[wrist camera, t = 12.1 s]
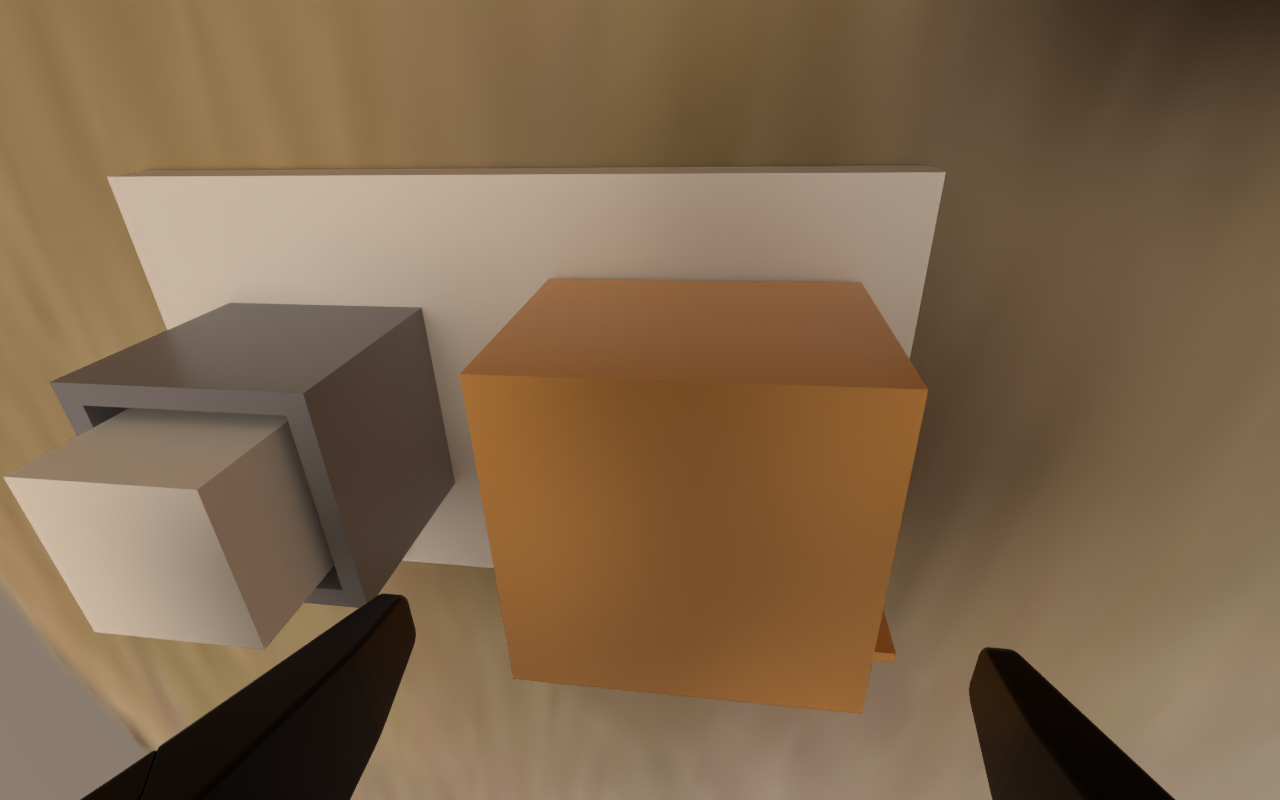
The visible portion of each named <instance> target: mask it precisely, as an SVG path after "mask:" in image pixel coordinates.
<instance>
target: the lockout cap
mask: <svg viewBox="0 0 1280 800" xmlns="http://www.w3.org/2000/svg"><path fill="white" fill-rule="evenodd" d="M460 380H461V385H462V391H463V397H464V402H465V408H466V414H467V419H468V425H469V431H470V436H471V442H472V447H473V453H474V459H475V464H476V470H477V476H478V481H479V487H480V493H481V498H482V504H483V510H484V515H485V521H486V527H487V532H488V538H489V544H490V549H491V555H492V560H493V566H494V572H495V577H496V583H497V589H498V594H499V600H500V606H501V611H502V617H503V623H504V628H505V634H506V640H507V645H508V651H509V657H510V662H511V668H512V673H513V679H520V680H530V681H540V682H550V683H560V684H570V685H580V686H589V687H599V688H609V689H619V690H629V691H639V692H649V693H659V694H669V695H679V696H689V697H698V698H708V699H718V700H728V701H738V702H748V703H758V704H768V705H778V706H788V707H797V708H807V709H817V710H827V711H837V712H847V713H857V714H862V710H863V705H864V700H865V695H866V690H867V686H868V681H869V676H870V671H871V666H872V661H873V656H874V652H875V647H876V642H877V637H878V632H879V627H880V622H881V618H882V613H883V608H884V603H885V598H886V593H887V588H888V584H889V579H890V574H891V569H892V564H893V559H894V554H895V550H896V545H897V540H898V535H899V530H900V525H901V520H902V516H903V511H904V506H905V501H906V496H907V491H908V486H909V481H910V477H911V472H912V467H913V462H914V457H915V452H916V447H917V443H918V438H919V433H920V428H921V423H922V418H923V413H924V409H925V404H926V399H927V394H928V388H927V387H926V385H925V383H924V382H923V380H922V379H921V377H920V375H919V374H918V372H917V371H916V369H915V367H914V366H913V364H912V363H911V361H910V359H909V358H908V356H907V354H906V353H905V351H904V350H903V348H902V346H901V345H900V343H899V342H898V340H897V338H896V337H895V335H894V334H893V332H892V330H891V329H890V327H889V326H888V324H887V322H886V321H885V319H884V318H883V316H882V314H881V313H880V311H879V310H878V308H877V306H876V305H875V303H874V302H873V300H872V298H871V297H870V295H869V294H868V292H867V290H866V289H865V287H864V286H863V284H862V283H854V282H768V281H681V280H594V279H548V280H547V281H546V282H545V283H544V284H543V285H542V287H541V288H540V289H539V290H538V291H537V292H536V293H535V294H534V295H533V296H532V297H531V298H530V299H529V300H528V301H527V303H526V304H525V305H524V306H523V307H522V308H521V309H520V310H519V311H518V312H517V313H516V314H515V315H514V316H513V317H512V319H511V320H510V321H509V322H508V323H507V324H506V325H505V326H504V327H503V328H502V329H501V330H500V331H499V332H498V333H497V335H496V336H495V337H494V338H493V339H492V340H491V341H490V342H489V343H488V344H487V345H486V346H485V347H484V348H483V349H482V351H481V352H480V353H479V354H478V355H477V356H476V357H475V358H474V359H473V360H472V361H471V362H470V363H469V364H468V365H467V367H466V368H465V369H464V370H463V371H462V372H461V373H460Z"/></svg>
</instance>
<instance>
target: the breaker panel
mask: <svg viewBox="0 0 1280 800" xmlns="http://www.w3.org/2000/svg"><path fill="white" fill-rule="evenodd" d="M945 174H946V172H944V171H942V170H940V169H937V168H935V167H933V166H930V165H897V166H748V167H598V168H449V169H300V170H150V171H141V172H134V173H128V174H121V175H115V176H108V177H107V178H108V181H109V183H110V186H111V188H112V191H113V193H114V196H115V198H116V201H117V203H118V206H119V208H120V211H121V214H122V216H123V219H124V221H125V224H126V226H127V229H128V231H129V234H130V236H131V239H132V241H133V244H134V247H135V249H136V252H137V254H138V257H139V259H140V262H141V264H142V267H143V269H144V272H145V274H146V277H147V280H148V282H149V285H150V287H151V290H152V292H153V295H154V297H155V300H156V302H157V305H158V307H159V310H160V312H161V315H162V318H163V320H164V323H165V325H166V328H167V331H165V332H162V333H160V334H158V335H156V336H153V337H151V338H149V339H147V340H144V341H142V342H140V343H138V344H135V345H133V346H131V347H128V348H126V349H124V350H122V351H119V352H117V353H115V354H113V355H110V356H108V357H106V358H104V359H101V360H99V361H97V362H94V363H92V364H90V365H88V366H85V367H83V368H81V369H79V370H76V371H74V372H72V373H70V374H67V375H65V376H63V377H60V378H58V379H56V380H54V381H51V382H50V383H51V385H52V387H53V389H54V391H55V393H56V395H57V397H58V399H59V401H60V403H61V405H62V407H63V409H64V411H65V413H66V415H67V417H68V419H69V421H70V423H71V425H72V427H73V429H74V431H75V433H76V435H77V436H79V435H81V434H83V433H84V432H86V431H88V430H90V429H92V428H94V427H95V426H97V425H99V424H101V423H103V422H105V421H107V420H108V419H110V418H112V417H114V416H116V415H118V414H119V413H121V412H123V411H125V410H127V409H129V408H144V409H164V410H184V411H204V412H224V413H244V414H264V415H284V416H287V419H288V423H289V426H290V429H291V432H292V435H293V438H294V441H295V444H296V447H297V450H298V454H299V457H300V460H301V463H302V466H303V469H304V472H305V475H306V478H307V481H308V485H309V488H310V491H311V494H312V497H313V500H314V503H315V506H316V509H317V512H318V516H319V519H320V522H321V525H322V528H323V531H324V534H325V537H326V540H327V543H328V547H329V550H330V553H331V556H332V559H333V562H334V566H333V568H332V569H331V570H330V571H329V572H328V574H327V575H326V576H325V577H324V578H323V580H322V581H321V582H320V583H319V585H318V586H317V587H316V588H315V589H314V591H313V592H312V593H311V594H310V595H309V597H308V598H307V599H306V600H305V601H304V603H314V604H325V605H335V606H346V607H357V608H360V607H362V606H363V605H364V604H366V603H367V602H369V601H370V600H372V599H373V598H375V597H376V596H377V595H378V594H379V592H380V591H381V589H382V588H383V586H384V585H385V584H386V582H387V581H388V579H389V578H390V576H391V575H392V574H393V572H394V571H395V569H396V568H397V566H398V565H399V563H400V562H401V561H413V562H425V563H437V564H450V565H462V566H474V567H487V568H494V566H493V560H492V555H491V549H490V544H489V538H488V532H487V527H486V521H485V515H484V510H483V504H482V498H481V493H480V487H479V481H478V476H477V470H476V464H475V459H474V453H473V447H472V442H471V436H470V431H469V425H468V419H467V414H466V408H465V402H464V397H463V391H462V385H461V380H460V373H461V372H462V371H463V370H464V369H465V368H466V367H467V365H468V364H469V363H470V362H471V361H472V360H473V359H474V358H475V357H476V356H477V355H478V354H479V353H480V352H481V351H482V349H483V348H484V347H485V346H486V345H487V344H488V343H489V342H490V341H491V340H492V339H493V338H494V337H495V336H496V335H497V333H498V332H499V331H500V330H501V329H502V328H503V327H504V326H505V325H506V324H507V323H508V322H509V321H510V320H511V319H512V317H513V316H514V315H515V314H516V313H517V312H518V311H519V310H520V309H521V308H522V307H523V306H524V305H525V304H526V303H527V301H528V300H529V299H530V298H531V297H532V296H533V295H534V294H535V293H536V292H537V291H538V290H539V289H540V288H541V287H542V285H543V284H544V283H545V282H546V281H547V280H548V279H594V280H681V281H768V282H854V283H862V284H863V286H864V287H865V289H866V290H867V292H868V294H869V295H870V297H871V298H872V300H873V302H874V303H875V305H876V306H877V308H878V310H879V311H880V313H881V314H882V316H883V318H884V319H885V321H886V322H887V324H888V326H889V327H890V329H891V330H892V332H893V334H894V335H895V337H896V338H897V340H898V342H899V343H900V345H901V346H902V348H903V350H904V351H905V353H906V354H907V356H908V358H909V359H910V355H911V350H912V345H913V340H914V335H915V329H916V324H917V319H918V314H919V309H920V303H921V298H922V293H923V288H924V283H925V277H926V272H927V267H928V262H929V257H930V252H931V246H932V241H933V236H934V231H935V226H936V220H937V215H938V210H939V205H940V200H941V194H942V189H943V184H944V179H945ZM895 655H896V653H895V649H894V646H893V642H892V638H891V635H890V631H889V628H888V624H887V621H886V617H885V613H884V610H883V613H882V618H881V622H880V627H879V632H878V637H877V642H876V647H875V652H874V656H873V661H882V662H893V663H894V660H895Z"/></svg>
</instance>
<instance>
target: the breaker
mask: <svg viewBox="0 0 1280 800" xmlns="http://www.w3.org/2000/svg"><path fill="white" fill-rule="evenodd" d="M3 478H4V479H5V481H6V483H7V484H8V486H9V488H10V489H11V491H12V493H13V495H14V496H15V498H16V500H17V501H18V503H19V505H20V506H21V508H22V510H23V511H24V513H25V515H26V517H27V518H28V520H29V522H30V523H31V525H32V527H33V528H34V530H35V532H36V533H37V535H38V537H39V538H40V540H41V542H42V544H43V545H44V547H45V549H46V550H47V552H48V554H49V555H50V557H51V559H52V560H53V562H54V564H55V566H56V567H57V569H58V571H59V572H60V574H61V576H62V577H63V579H64V581H65V582H66V584H67V586H68V588H69V589H70V591H71V593H72V594H73V596H74V598H75V599H76V601H77V603H78V604H79V606H80V608H81V610H82V611H83V613H84V615H85V616H86V618H87V620H88V621H89V623H90V625H91V626H92V628H93V630H94V632H100V633H110V634H119V635H129V636H138V637H148V638H158V639H167V640H177V641H186V642H196V643H206V644H215V645H225V646H234V647H244V648H254V649H263V650H265V649H266V647H267V646H268V645H269V644H270V643H271V641H272V640H273V639H274V638H275V637H276V635H277V634H278V633H279V632H280V631H281V629H282V628H283V627H284V626H285V624H286V623H287V622H288V621H289V620H290V618H291V617H292V616H293V615H294V614H295V612H296V611H297V610H298V609H299V608H300V606H301V605H302V604H303V603H304V601H305V600H306V599H307V598H308V597H309V595H310V594H311V593H312V592H313V591H314V589H315V588H316V587H317V586H318V585H319V583H320V582H321V581H322V580H323V578H324V577H325V576H326V575H327V574H328V572H329V571H330V570H331V569H332V568H333V566H334V562H333V559H332V556H331V553H330V550H329V547H328V543H327V540H326V537H325V534H324V531H323V528H322V525H321V522H320V519H319V516H318V512H317V509H316V506H315V503H314V500H313V497H312V494H311V491H310V488H309V485H308V481H307V478H306V475H305V472H304V469H303V466H302V463H301V460H300V457H299V454H298V450H297V447H296V444H295V441H294V438H293V435H292V432H291V429H290V426H289V423H288V419H287V416H284V415H264V414H244V413H224V412H204V411H184V410H164V409H144V408H129V409H127V410H125V411H123V412H121V413H119V414H118V415H116V416H114V417H112V418H110V419H108V420H107V421H105V422H103V423H101V424H99V425H97V426H95V427H94V428H92V429H90V430H88V431H86V432H84V433H83V434H81V435H79V436H77V437H75V438H73V439H71V440H70V441H68V442H66V443H64V444H62V445H60V446H59V447H57V448H55V449H53V450H51V451H49V452H48V453H46V454H44V455H42V456H40V457H38V458H36V459H35V460H33V461H31V462H29V463H27V464H25V465H24V466H22V467H20V468H18V469H16V470H14V471H12V472H11V473H9V474H7V475H5V476H3Z"/></svg>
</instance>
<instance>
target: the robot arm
mask: <svg viewBox="0 0 1280 800" xmlns="http://www.w3.org/2000/svg"><path fill="white" fill-rule="evenodd" d="M415 637H416V631H415V626H414V622H413V619H412V615H411V611H410V607H409V603H408V600H407V599H406V598H405V597H404V596H402V595H394V594H380V595H378V596H376V597H375V598H373V599H372V600H370V601H369V602H367V603H366V604H364V605H363V606H362V607H360V608H359V609H357V610H356V611H354V612H353V613H351V614H350V615H349V616H347V617H346V618H344V619H343V620H341V621H340V622H338V623H337V624H336V625H334V626H333V627H331V628H330V629H328V630H327V631H325V632H324V633H323V634H321V635H320V636H318V637H317V638H315V639H314V640H312V641H311V642H310V643H308V644H307V645H305V646H304V647H302V648H301V649H299V650H298V651H296V652H295V653H294V654H292V655H291V656H289V657H288V658H286V659H285V660H283V661H282V662H281V663H279V664H278V665H276V666H275V667H273V668H272V669H270V670H269V671H268V672H266V673H265V674H263V675H262V676H260V677H259V678H257V679H256V680H255V681H253V682H252V683H250V684H249V685H247V686H246V687H244V688H243V689H242V690H240V691H239V692H237V693H236V694H234V695H233V696H231V697H230V698H229V699H227V700H226V701H224V702H223V703H221V704H220V705H218V706H217V707H216V708H214V709H213V710H211V711H210V712H208V713H207V714H205V715H204V716H202V717H201V718H200V719H198V720H197V721H195V722H194V723H192V724H191V725H189V726H188V727H187V728H185V729H184V730H182V731H181V732H179V733H178V734H176V735H175V736H174V737H172V738H171V739H169V740H168V741H166V742H165V743H163V744H162V745H161V746H159V748H158V750H157V751H152V752H150V753H149V754H147V755H146V756H144V757H143V758H141V759H140V760H139V761H137V762H136V763H134V764H133V765H131V766H130V767H129V768H127V769H126V770H124V771H123V772H121V773H120V774H118V775H117V776H115V777H114V778H112V779H111V780H109V781H108V782H106V783H105V784H103V785H102V786H100V787H99V788H97V789H96V790H94V791H93V792H91V793H90V794H88V795H87V796H85V797H84V798H82V799H81V800H350V799H351V796H352V794H353V792H354V790H355V788H356V786H357V784H358V782H359V780H360V778H361V776H362V774H363V772H364V770H365V767H366V765H367V763H368V761H369V759H370V757H371V755H372V753H373V751H374V749H375V746H376V744H377V742H378V740H379V738H380V735H381V733H382V730H383V728H384V725H385V723H386V720H387V718H388V715H389V712H390V709H391V707H392V704H393V701H394V698H395V696H396V693H397V690H398V687H399V685H400V682H401V679H402V677H403V674H404V671H405V668H406V666H407V663H408V660H409V657H410V655H411V652H412V649H413V646H414V643H415ZM969 696H970V703H971V707H972V712H973V716H974V721H975V725H976V729H977V734H978V738H979V743H980V747H981V752H982V756H983V761H984V765H985V769H986V774H987V778H988V783H989V787H990V792H991V796H992V800H1175V799H1174V798H1173V797H1172V796H1171V795H1170V794H1168V793H1167V792H1166V791H1165V790H1164V789H1163V788H1162V787H1161V786H1160V785H1159V784H1158V783H1157V782H1156V781H1155V780H1153V779H1152V778H1151V777H1150V776H1149V775H1148V774H1147V773H1146V772H1145V771H1144V770H1143V769H1142V768H1141V767H1140V766H1138V765H1137V764H1136V763H1135V762H1134V761H1133V760H1132V759H1131V758H1130V757H1129V756H1128V755H1127V754H1126V753H1125V752H1123V751H1122V750H1121V749H1120V748H1119V747H1118V746H1117V745H1116V744H1115V743H1114V742H1113V741H1112V740H1111V739H1110V738H1108V737H1107V736H1106V735H1105V734H1104V733H1103V732H1102V731H1101V730H1100V729H1099V728H1098V727H1097V726H1096V725H1095V724H1093V723H1092V722H1091V721H1090V720H1089V719H1088V718H1087V717H1086V716H1085V715H1084V714H1083V713H1082V712H1081V711H1080V710H1078V709H1077V708H1076V707H1075V706H1074V705H1073V704H1072V703H1071V702H1070V701H1069V700H1068V699H1067V698H1066V697H1064V696H1063V695H1062V694H1061V693H1060V692H1059V691H1058V690H1057V689H1056V688H1055V687H1054V686H1053V685H1052V684H1051V683H1049V682H1048V681H1047V680H1046V679H1045V678H1044V677H1043V676H1042V675H1041V674H1040V673H1039V672H1038V671H1037V670H1036V669H1034V668H1033V667H1032V666H1031V665H1030V664H1029V663H1028V662H1027V661H1026V660H1025V659H1024V658H1023V657H1022V656H1021V655H1019V654H1018V653H1017V652H1015V651H1013V650H1010V649H1002V648H991V647H987V648H984V649H983V650H982V651H981V652H980V654H979V657H978V660H977V663H976V666H975V670H974V673H973V676H972V679H971V682H970V687H969Z"/></svg>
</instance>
